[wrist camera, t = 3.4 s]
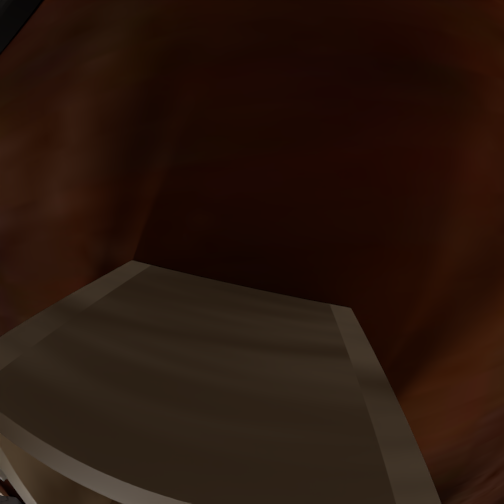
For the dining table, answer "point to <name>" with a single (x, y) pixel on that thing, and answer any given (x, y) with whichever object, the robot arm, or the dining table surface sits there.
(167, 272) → the small oak crate
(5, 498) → the die
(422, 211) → the dining table surface
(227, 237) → the dining table surface
